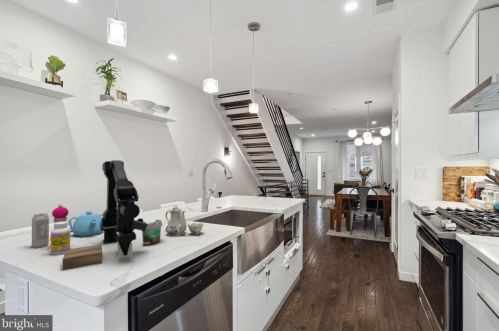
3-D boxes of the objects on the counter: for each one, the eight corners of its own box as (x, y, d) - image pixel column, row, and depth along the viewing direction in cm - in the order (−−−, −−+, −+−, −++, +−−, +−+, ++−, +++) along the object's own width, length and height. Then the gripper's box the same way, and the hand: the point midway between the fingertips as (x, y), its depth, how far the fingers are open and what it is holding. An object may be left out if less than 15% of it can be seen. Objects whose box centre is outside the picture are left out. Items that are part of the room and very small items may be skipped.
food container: (153, 247, 110) (153, 225, 111) (141, 246, 112) (141, 224, 112) (167, 239, 122) (167, 219, 123) (156, 239, 124) (156, 219, 124)
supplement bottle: (48, 256, 100) (48, 225, 100) (52, 251, 105) (52, 222, 106) (68, 253, 103) (68, 223, 103) (71, 249, 108) (71, 220, 109)
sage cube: (117, 255, 100) (117, 243, 100) (130, 253, 103) (130, 241, 103) (118, 259, 96) (118, 246, 96) (132, 256, 99) (132, 244, 99)
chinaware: (208, 236, 134) (210, 206, 136) (186, 240, 120) (188, 206, 122) (174, 230, 149) (176, 202, 151) (150, 233, 135) (153, 203, 137)
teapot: (105, 228, 147) (105, 207, 147) (114, 234, 132) (114, 211, 133) (65, 234, 134) (65, 211, 134) (69, 242, 119) (70, 216, 119)
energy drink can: (45, 243, 117) (45, 212, 117) (51, 245, 114) (51, 213, 114) (29, 247, 112) (29, 214, 112) (34, 249, 109) (35, 215, 109)
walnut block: (66, 259, 95) (66, 249, 96) (101, 254, 102) (101, 244, 102) (62, 270, 85) (62, 258, 85) (102, 263, 92) (102, 252, 92)
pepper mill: (53, 251, 106) (54, 205, 106) (47, 248, 110) (47, 204, 110) (72, 246, 112) (73, 203, 113) (65, 244, 116) (66, 202, 116)
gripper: (150, 216, 96) (150, 256, 96) (142, 210, 112) (142, 244, 112) (118, 220, 90) (118, 262, 90) (115, 212, 106) (114, 248, 106)
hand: (124, 253), depth 99 cm, fingers closed on sage cube, 5 cm apart
